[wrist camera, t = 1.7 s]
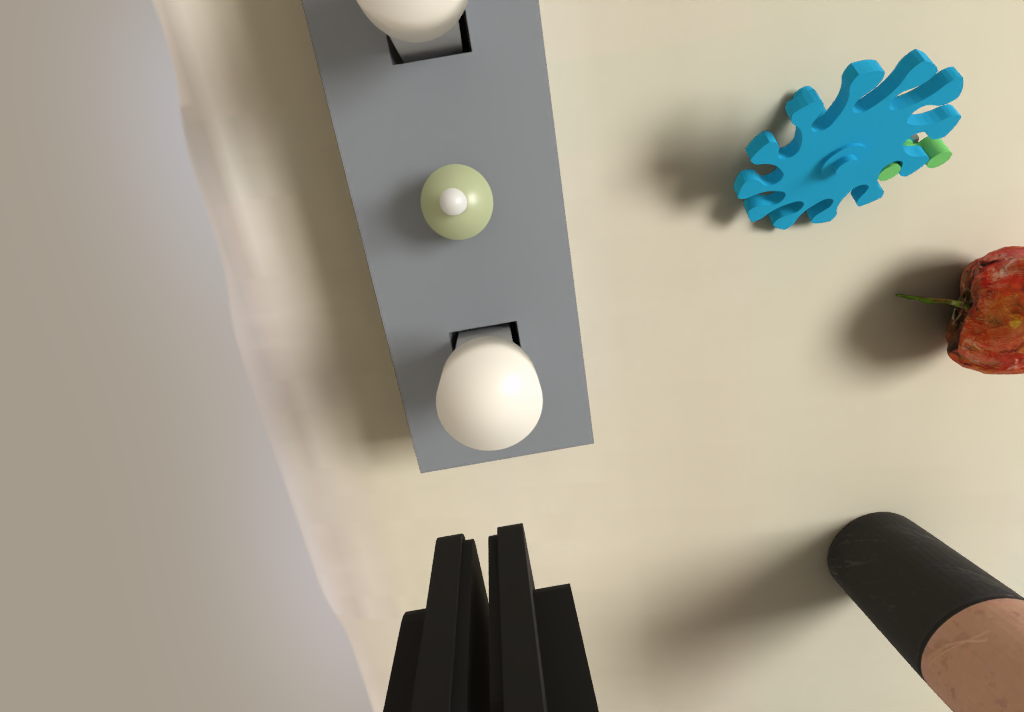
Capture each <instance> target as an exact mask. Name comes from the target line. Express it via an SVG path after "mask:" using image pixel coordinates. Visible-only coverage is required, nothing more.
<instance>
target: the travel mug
mask: <svg viewBox="0 0 1024 712" xmlns="http://www.w3.org/2000/svg"><path fill="white" fill-rule="evenodd" d="M828 566H829V570H830V572H831V574H832V576H833V577H834V579H835V580H836V581H837V583H838V584H839V585H840V586H841V587H842V588H843V590H844V591H845V592H846V593H847V594H848V595H849V596H850V598H851V599H852V600H853V601H854V602H855V603H856V604H857V606H858V607H859V608H860V609H861V610H862V611H863V612H864V613H865V615H866V616H867V617H868V618H869V619H870V620H871V621H872V622H873V624H874V625H875V626H876V627H877V628H878V629H879V630H880V632H881V633H882V634H883V635H884V636H885V637H886V638H887V639H888V641H889V642H890V643H891V644H892V645H893V646H894V647H895V648H896V650H897V651H898V652H899V653H900V654H901V655H902V656H903V657H904V659H905V660H906V661H907V662H908V663H909V664H910V665H911V667H912V668H913V669H914V670H915V671H916V672H917V673H918V674H919V676H920V677H921V678H922V679H923V680H924V681H925V682H926V683H927V684H928V686H929V687H930V688H931V689H932V690H933V691H934V692H935V693H936V694H937V695H938V696H939V697H940V698H941V699H942V700H943V702H944V703H945V704H946V705H947V706H948V707H949V708H950V709H951V710H952V711H953V712H1024V598H1023V597H1022V596H1020V595H1019V594H1017V593H1016V592H1014V591H1013V590H1011V589H1010V588H1008V587H1007V586H1006V585H1004V584H1003V583H1001V582H1000V581H998V580H997V579H995V578H994V577H992V576H991V575H990V574H988V573H987V572H985V571H984V570H982V569H981V568H979V567H978V566H976V565H975V564H974V563H972V562H971V561H969V560H968V559H966V558H965V557H963V556H962V555H960V554H959V553H958V552H956V551H955V550H953V549H952V548H950V547H949V546H947V545H946V544H944V543H943V542H942V541H940V540H939V539H937V538H936V537H934V536H933V535H931V534H930V533H928V532H927V531H926V530H924V529H923V528H921V527H920V526H918V525H917V524H915V523H914V522H912V521H910V520H909V519H907V518H905V517H904V516H901V515H898V514H895V513H890V512H878V513H873V514H869V515H866V516H863V517H861V518H859V519H856V520H855V521H853V522H852V523H850V524H849V525H847V526H846V527H845V528H844V529H843V530H842V531H841V532H840V533H839V534H838V535H837V537H836V538H835V539H834V541H833V543H832V545H831V547H830V550H829V554H828Z"/></svg>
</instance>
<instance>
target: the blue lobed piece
mask: <svg viewBox="0 0 1024 712" xmlns="http://www.w3.org/2000/svg"><path fill="white" fill-rule="evenodd" d="M937 71H938V70H937V67H936V66H935V65H934V64H933V62H932V61H931V60H930V59H929V58H928V56H927V55H926V54H925V53H923V52H922V51H919V50H917V49H915V50H913V51H911V52H910V53H908V54H907V55H906V56H904V57H903V58H902V59H901V60H900V62H899V63H898V64H897V66H896V68H895V69H894V70H893V72H892V73H891V74H890V75H889V76H888V77H887V78H886V79H885V80H884V81H883V82H882V83H881V84H880V85H879V86H878V87H876V86H877V85H878V84H879V83H880V82H881V80H882V79H883V77H884V74H885V72H884V70H883V69H882V68H881V66H880V65H879V64H878V62H877V61H876V60H862V61H858V62H854V63H851V64H850V65H849V66H848V67H847V68H846V69H845V71H844V73H843V75H842V84H841V89H840V91H839V94H838V96H837V98H836V99H835V101H834V102H833V103H832V105H831V106H830V107H829V109H828V110H827V111H826V109H825V108H824V106H823V102H822V100H821V99H820V97H819V96H818V94H817V93H816V91H815V90H814V89H813V88H812V87H810V86H806V87H803V88H801V89H799V90H798V91H797V92H796V93H795V94H794V96H793V99H791V100H789V101H788V102H787V103H786V105H785V111H786V113H787V114H788V116H789V118H790V120H791V122H792V123H793V124H794V125H796V131H795V136H794V139H793V140H792V141H791V142H790V143H789V144H788V145H787V146H785V147H782V148H779V145H778V143H777V141H776V139H775V137H774V135H773V134H772V132H770V131H763V132H761V133H760V134H759V135H758V136H756V137H755V138H754V139H753V140H752V141H751V142H750V143H749V145H748V146H747V147H746V148H745V149H746V152H747V154H748V156H749V158H750V160H751V162H752V163H753V164H772V165H775V166H777V168H776V169H775V170H774V171H773V172H771V173H769V174H767V175H759V174H758V173H757V172H756V171H755V170H753V169H746V170H743V171H741V172H740V173H739V174H738V176H737V178H736V180H735V182H734V186H733V188H734V190H735V193H736V195H737V197H738V198H739V199H745V200H744V207H745V210H746V212H747V214H748V217H749V219H750V220H751V222H755V221H758V220H760V219H762V218H763V217H765V216H766V215H767V214H768V213H769V214H768V215H769V218H770V220H771V222H772V224H773V225H774V227H776V228H779V229H784V230H785V229H787V228H789V227H790V226H792V225H793V224H794V223H795V221H796V220H797V219H798V217H799V216H800V215H801V214H802V213H803V212H805V211H806V210H807V215H808V217H809V219H810V220H811V222H812V223H823V222H828V221H831V220H832V219H833V218H834V217H835V216H836V214H837V211H836V210H837V207H838V205H839V203H840V202H841V200H842V199H843V198H844V197H845V196H846V195H847V194H848V193H849V192H850V191H851V190H852V191H851V195H852V197H853V199H854V200H855V202H856V204H857V205H858V206H862V205H865V204H868V203H870V202H872V201H875V200H877V199H879V198H881V197H882V196H883V193H884V191H883V190H882V188H881V186H880V185H879V183H878V182H877V179H879V180H880V181H884V180H888V179H890V178H892V177H894V176H895V175H896V174H898V173H899V174H900V175H901V176H908V175H910V174H912V173H913V172H915V171H916V170H918V169H919V168H920V167H922V166H923V165H924V164H926V165H927V167H929V168H934V167H938V166H940V165H942V164H943V163H945V162H946V161H947V160H949V159H950V157H951V155H952V153H951V151H950V150H949V149H948V148H947V146H946V145H945V144H944V142H943V141H942V140H941V138H942V137H945V136H946V135H947V134H948V133H949V132H950V131H951V130H952V129H953V128H954V127H955V125H956V124H957V123H958V121H959V120H960V118H961V115H960V114H959V113H958V112H957V111H956V109H955V108H954V107H953V106H952V105H948V104H947V103H949V102H951V101H953V100H955V99H956V98H958V97H959V95H960V93H961V91H962V88H963V77H962V76H961V75H960V74H959V73H958V71H957V70H956V69H955V68H954V67H948V68H946V69H943V70H941V71H940V72H938V73H937ZM936 73H937V74H936ZM917 86H919V87H917ZM875 87H876V88H875ZM915 87H917V88H915ZM874 88H875V89H874ZM912 88H915V89H913V90H911V91H909V92H907V93H905V94H902V95H900V96H897V95H899V94H900V93H902V92H904V91H906V90H909V89H912ZM872 89H874V90H872ZM871 90H872V91H871ZM870 91H871V92H870ZM868 92H870V93H868ZM867 93H868V94H867ZM865 94H867V95H865ZM864 95H865V96H864ZM862 96H864V97H862ZM896 96H897V97H896ZM861 97H862V98H861ZM860 98H861V99H860ZM944 104H947V105H944ZM925 105H937V106H940V105H943V106H940V107H938V108H935V109H933V110H930V111H928V112H924V113H921V114H912V113H913V112H914V111H916V110H917V109H919V108H920V107H923V106H925ZM919 132H926V134H927V135H928V137H926V138H924V139H922V140H921V141H920V142H918V140H919V137H918V135H917V134H916V133H919ZM767 191H775V192H774V193H772V194H769V195H756V194H759V193H763V192H767ZM746 198H747V199H746Z"/></svg>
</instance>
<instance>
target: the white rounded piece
mask: <svg viewBox="0 0 1024 712" xmlns="http://www.w3.org/2000/svg"><path fill="white" fill-rule="evenodd" d="M542 405H543V397H542V390H541V386H540V383H539V380H538V377H537V373H536V370H535V367H534V365H533V362H532V361H531V359H530V357H529V356H528V355H527V353H526V352H525V351H524V350H523V349H522V348H521V347H519V346H518V345H517V344H515V343H513V340H512V335H511V330H510V325H509V324H503V325H497V326H491V327H486V328H480V329H474V330H468V331H462V332H459V335H458V339H457V344H456V348H455V350H454V351H453V352H452V354H451V355H450V356H449V358H448V359H447V361H446V363H445V365H444V367H443V371H442V375H441V378H440V382H439V386H438V390H437V394H436V409H437V413H438V417H439V419H440V421H441V424H442V425H443V427H444V428H445V430H446V431H447V432H448V433H449V435H451V436H452V437H453V438H454V439H455V440H457V441H458V442H460V443H461V444H463V445H465V446H468V447H470V448H473V449H477V450H484V451H493V450H500V449H505V448H508V447H510V446H513V445H515V444H517V443H518V442H520V441H521V440H523V439H524V438H525V437H526V436H528V435H529V433H530V432H531V431H532V430H533V429H534V427H535V426H536V424H537V422H538V420H539V418H540V415H541V411H542Z"/></svg>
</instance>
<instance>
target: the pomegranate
mask: <svg viewBox="0 0 1024 712" xmlns="http://www.w3.org/2000/svg"><path fill="white" fill-rule="evenodd" d="M896 296H899V297H903V298H906V299H914V300H919V301H921V302H923V303H926V304H932V303H945V304H949V305H953V306H956V307H955V309H954V311H953V314H952V316H951V318H950V320H949V324H948V327H947V331H946V340H947V342H948V348H947V353H948V355H949V357H950V358H951V359H952V360H953V361H955V362H956V363H958V364H959V365H961V366H962V367H965V368H968V369H973V370H976V371H979V372H982V373H985V374H1023V373H1024V247H1019V246H1011V247H1004V248H1001V249H998V250H995V251H993V252H990V253H988V254H987V255H986V256H984V257H982V258H979V259H976V260H975V261H973V262H972V263H970V264H969V265H968V266H966V267H965V268H964V270H963V273H962V275H961V280H960V298H959V299H958V301H956V300H951V299H944V298H926V297H918V296H910V295H900V294H896ZM957 307H959V308H958V309H956V308H957Z"/></svg>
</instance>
